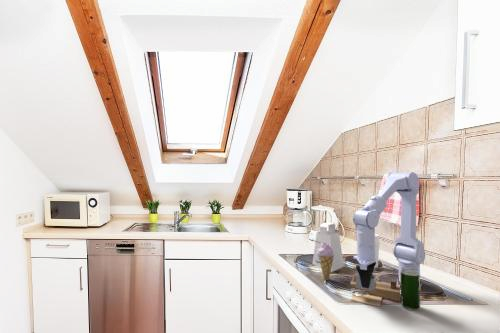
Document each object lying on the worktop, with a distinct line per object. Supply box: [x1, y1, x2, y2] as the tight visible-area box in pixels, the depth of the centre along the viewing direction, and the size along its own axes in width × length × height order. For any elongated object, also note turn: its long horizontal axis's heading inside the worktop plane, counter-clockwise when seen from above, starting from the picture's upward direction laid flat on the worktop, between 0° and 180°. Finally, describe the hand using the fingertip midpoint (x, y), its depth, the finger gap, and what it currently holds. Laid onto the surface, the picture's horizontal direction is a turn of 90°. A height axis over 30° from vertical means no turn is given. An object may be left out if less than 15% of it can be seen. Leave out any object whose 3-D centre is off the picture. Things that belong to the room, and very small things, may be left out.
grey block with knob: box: [355, 271, 377, 291], centre depth 95 cm, size 4×6×5 cm
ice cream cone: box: [317, 243, 334, 281], centre depth 113 cm, size 7×6×15 cm
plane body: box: [349, 273, 401, 302], centre depth 100 cm, size 7×16×5 cm, turn 60°
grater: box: [312, 222, 345, 273], centre depth 130 cm, size 10×10×20 cm
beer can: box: [400, 267, 421, 312], centre depth 89 cm, size 5×5×12 cm
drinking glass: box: [374, 233, 380, 269], centre depth 129 cm, size 7×7×15 cm
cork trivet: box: [350, 295, 383, 307], centre depth 95 cm, size 7×9×1 cm
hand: (366, 284), depth 95 cm, fingers closed on grey block with knob, 4 cm apart
